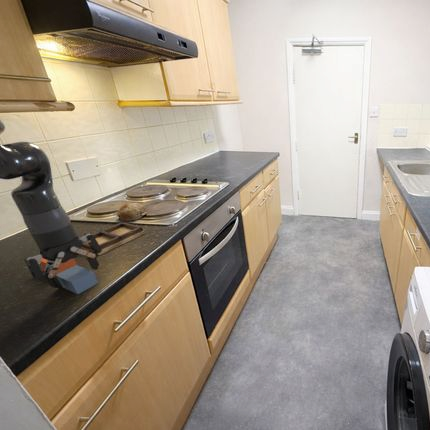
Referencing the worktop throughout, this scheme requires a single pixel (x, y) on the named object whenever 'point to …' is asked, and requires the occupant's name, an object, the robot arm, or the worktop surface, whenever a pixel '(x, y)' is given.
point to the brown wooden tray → (114, 236)
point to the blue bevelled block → (77, 279)
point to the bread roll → (131, 211)
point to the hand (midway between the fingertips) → (77, 277)
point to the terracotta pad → (62, 266)
